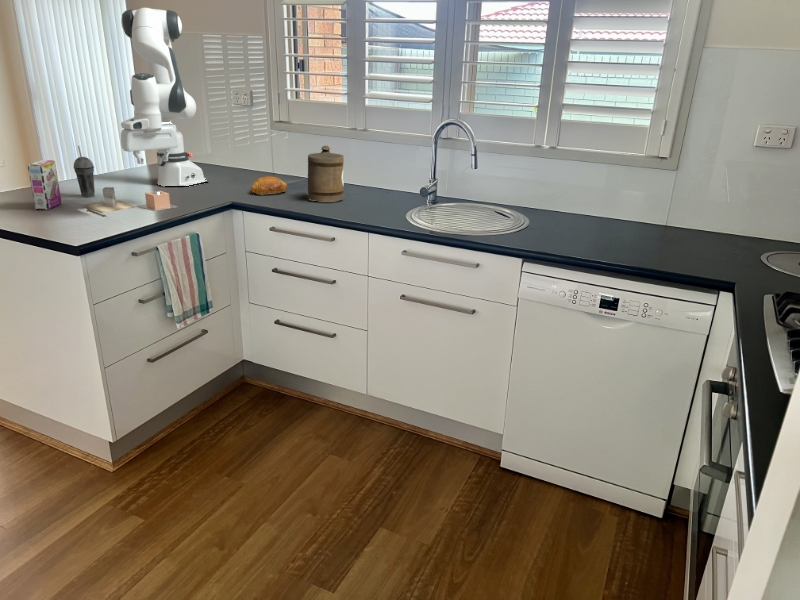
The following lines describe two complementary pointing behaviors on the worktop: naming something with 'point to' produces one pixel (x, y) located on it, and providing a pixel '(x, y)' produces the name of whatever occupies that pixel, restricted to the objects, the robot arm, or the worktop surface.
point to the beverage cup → (85, 175)
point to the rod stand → (159, 208)
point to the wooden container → (325, 176)
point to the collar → (157, 200)
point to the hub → (109, 203)
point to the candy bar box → (44, 184)
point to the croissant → (268, 185)
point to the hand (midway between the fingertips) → (153, 162)
